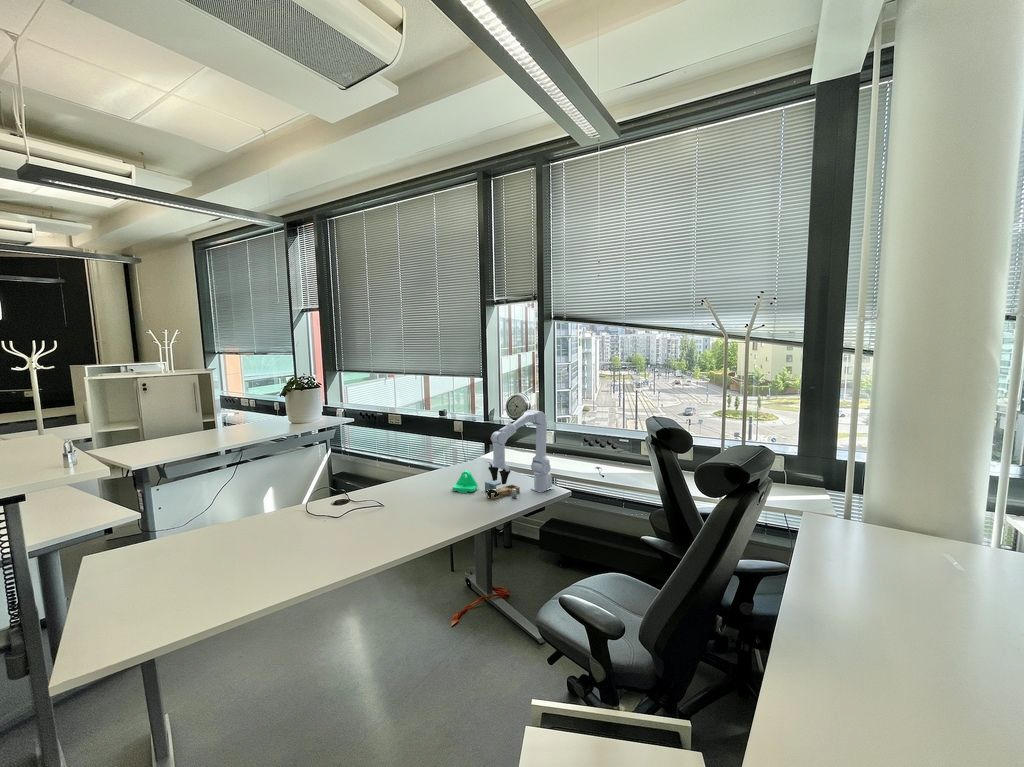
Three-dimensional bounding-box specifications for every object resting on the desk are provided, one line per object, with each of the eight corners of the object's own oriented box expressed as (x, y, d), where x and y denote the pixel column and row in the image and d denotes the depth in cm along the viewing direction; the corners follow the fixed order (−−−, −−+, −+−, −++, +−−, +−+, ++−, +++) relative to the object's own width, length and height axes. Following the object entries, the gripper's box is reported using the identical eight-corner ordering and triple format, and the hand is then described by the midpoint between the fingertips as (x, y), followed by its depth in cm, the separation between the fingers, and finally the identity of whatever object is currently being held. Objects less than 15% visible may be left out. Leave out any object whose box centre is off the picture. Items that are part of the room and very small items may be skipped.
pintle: (514, 496, 231) (514, 488, 231) (517, 498, 230) (517, 489, 229) (511, 497, 230) (510, 489, 229) (513, 499, 228) (513, 490, 228)
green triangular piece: (452, 492, 240) (451, 473, 239) (457, 487, 247) (456, 469, 246) (473, 493, 237) (473, 474, 236) (477, 489, 245) (477, 470, 244)
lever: (512, 489, 243) (512, 484, 242) (519, 492, 238) (519, 487, 237) (486, 496, 232) (486, 491, 232) (493, 500, 227) (493, 494, 227)
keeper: (484, 491, 240) (484, 481, 240) (491, 488, 244) (491, 479, 243) (494, 494, 235) (494, 484, 235) (501, 491, 239) (501, 482, 239)
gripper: (484, 454, 225) (484, 480, 227) (501, 460, 214) (501, 487, 215) (495, 451, 230) (495, 477, 231) (512, 457, 218) (513, 484, 220)
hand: (499, 482), depth 224 cm, fingers open, 7 cm apart
